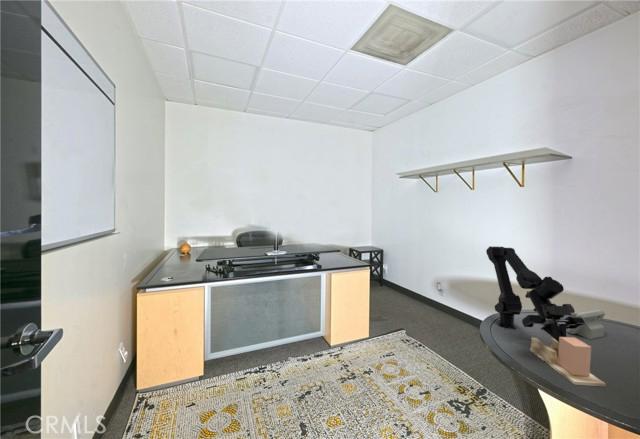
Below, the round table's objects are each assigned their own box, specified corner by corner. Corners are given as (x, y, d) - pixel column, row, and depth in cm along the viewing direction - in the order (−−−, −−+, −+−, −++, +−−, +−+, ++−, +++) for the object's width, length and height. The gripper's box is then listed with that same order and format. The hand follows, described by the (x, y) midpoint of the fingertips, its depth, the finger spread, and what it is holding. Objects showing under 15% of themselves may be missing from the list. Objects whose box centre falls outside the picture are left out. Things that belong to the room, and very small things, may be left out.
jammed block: (557, 363, 89) (559, 336, 89) (572, 364, 89) (574, 337, 88) (573, 375, 83) (574, 346, 83) (589, 376, 83) (591, 347, 82)
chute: (530, 350, 99) (530, 337, 99) (555, 351, 99) (555, 338, 98) (574, 384, 81) (575, 368, 80) (605, 386, 80) (606, 369, 79)
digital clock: (591, 328, 118) (592, 306, 117) (614, 338, 109) (616, 314, 108) (559, 329, 117) (560, 307, 116) (580, 339, 108) (582, 316, 107)
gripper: (528, 294, 94) (551, 337, 84) (582, 295, 92) (612, 340, 82) (513, 306, 102) (532, 347, 92) (562, 308, 101) (587, 350, 90)
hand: (565, 346), depth 89 cm, fingers closed, pressing on jammed block
